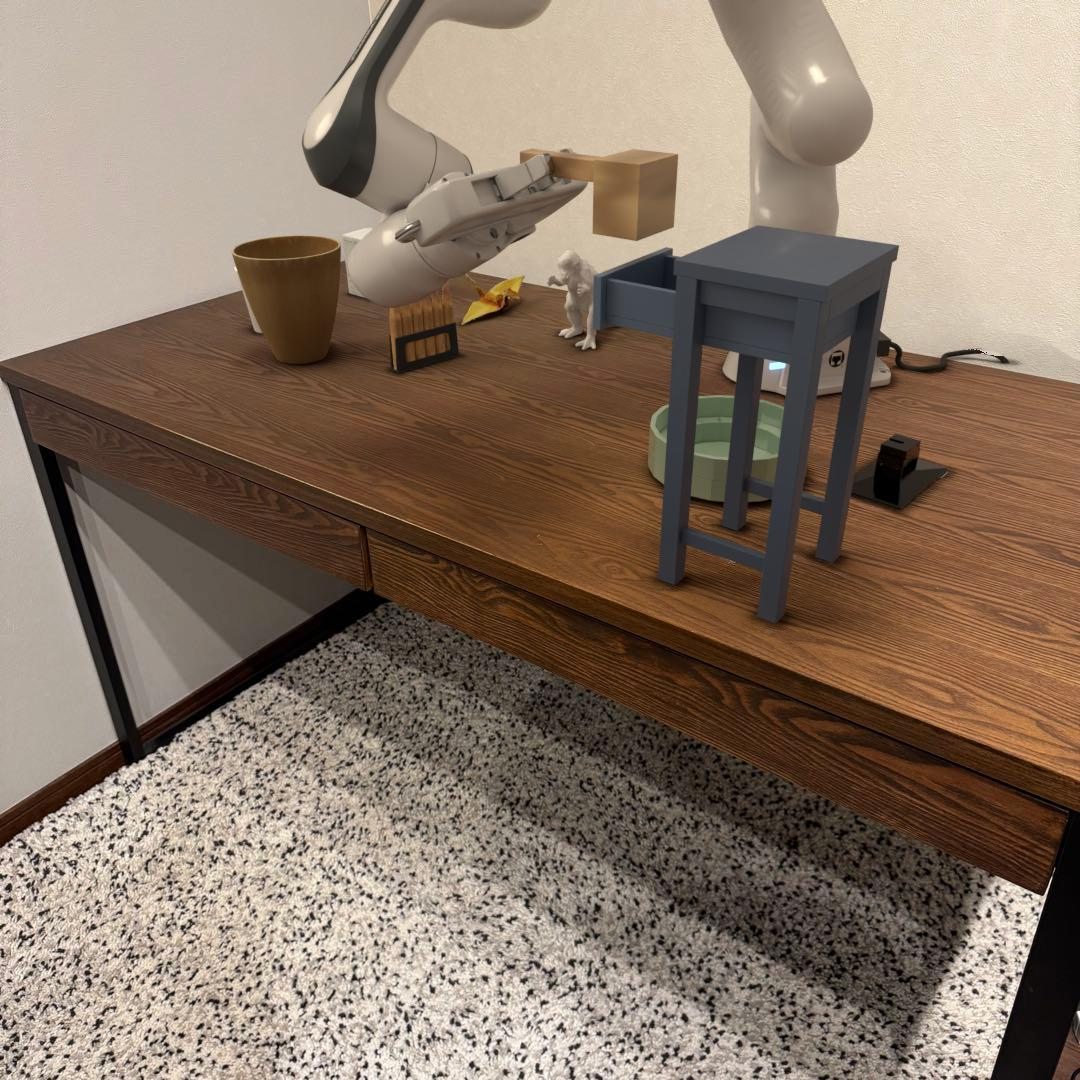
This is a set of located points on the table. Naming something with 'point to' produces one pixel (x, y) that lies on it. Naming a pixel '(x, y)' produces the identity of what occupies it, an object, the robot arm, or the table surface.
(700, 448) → the bowl
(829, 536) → the nightstand
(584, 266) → the dinosaur figurine
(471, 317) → the origami crane
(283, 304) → the plant pot
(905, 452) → the black slotted stand
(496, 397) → the table surface
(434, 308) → the ammunition clip
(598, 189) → the mallet
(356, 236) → the cosmetics box
